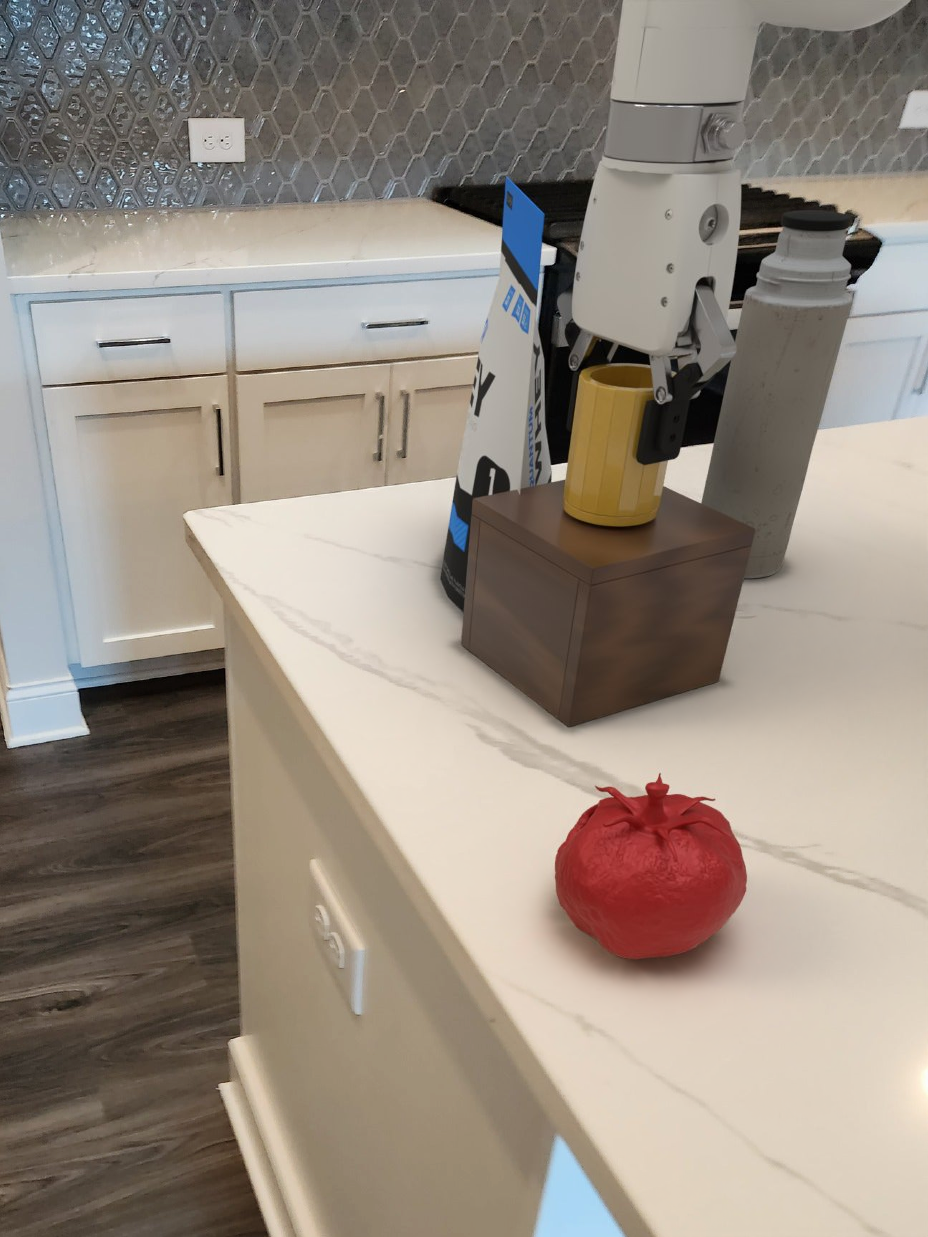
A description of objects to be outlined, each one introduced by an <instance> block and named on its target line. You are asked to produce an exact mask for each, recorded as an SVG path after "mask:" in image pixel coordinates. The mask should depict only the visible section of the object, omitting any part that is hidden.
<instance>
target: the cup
mask: <svg viewBox="0 0 928 1237" xmlns="http://www.w3.org/2000/svg"><path fill="white" fill-rule="evenodd" d="M671 372H672V377H673V376H674V375H675V374H676V373H677V372H676V371H673V370H671ZM650 400H655V398H654V391H653V382H652V374H651V366H650V365H649V364H643V363H631V362H629V363H628V362H626V363H625V362H623V363H622V362H620V363H619V362H617V363H616V362H615V363H609V364H603V365H597V366H591V367H589V368H586V369H584V370H582V371H581V373H580V376H579V382H578V390H577V397H576V405H575V412H574V420H573V427H572V432H571V435H570V444H569V450H568V457H567V458H568V459H567V465H566V473H565V479H564V480H565V487H564V494H563V497H564V499H563V508H564V510H565V511H566V513H568V514H569V515H570V516H572V517H574V518H576V519H579V520H581V521H584V522H588V523H592V524H597V525H604V526H634V525H640V524H644V523H647V522H649V521H651V520H653V519H654V518H655V517H656V516H657V514H658V511H659V505H660V500H661V495H662V490H663V486H665V485H664V483H665V479H666V474H667V469H668V462H669V460H668V461H663V462H658V463H653V464H648V465H643V464H640V463H638V462H637V459H636V455H637V449H638V443H639V437H640V431H641V425H642V419H643V414H644V408H645V405H646V401H650Z"/></svg>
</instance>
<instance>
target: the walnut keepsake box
mask: <svg viewBox="0 0 928 1237" xmlns="http://www.w3.org/2000/svg"><path fill="white" fill-rule="evenodd" d="M564 487H565V479H561V480H556V481H551V483H546V484H541V485H536V486H531V487H526V488H522V489H521V491H520V495H519V492H518V490H512V491H507V492H502V493H497V494H493V495H488V496H483V497H478V498H474V499H473V505H472V517H471V529H470V541H469V554H468V566H467V578H466V590H465V602H464V613H463V615H462V628H461V639H460V645H461V646H463V647H464V648H465V649H466V650H468V651H469V652H471V653H472V654H473V655H474V656H476V658H478V660H480V661H481V662H483V663H484V664H485V665H487V666H488V667H490V668H491V670H493V671H495V672H496V673H497V674H499V675H500V676H501V677H503V678H504V679H505V680H507V682H509V683H511V684H512V685H513V686H515V687H516V688H517V689H518V690H520V691H521V692H523V694H525V695H526V696H527V697H528V698H530V699H531V700H533V701H534V702H535V703H536V704H538V705H539V706H541V707H542V708H543V709H545V710H546V711H547V712H548V713H549V714H551V715H553V717H555V718H556V719H558V721H560V722H562V723H563V724H564V725H565V726H567V727H573V726H576V725H580V724H584V723H586V722H589V721H592V720H593V721H594V720H596V719H599V718H602V717H606V716H609V715H612V714H616V713H619V712H622V711H626V710H629V709H632V708H635V707H638V706H642V705H645V704H650V703H651V702H655V701H659V700H662V699H665V698H669V697H671V696H674V695H679V694H681V693H685V692H688V691H691V690H694V689H698V688H701V687H704V686H708V685H712V684H715V683H717V682H719V681H720V677H721V673H722V669H723V665H724V661H725V658H726V653H727V649H728V645H729V641H730V637H731V633H732V630H733V624H734V621H735V617H736V612H737V609H738V605H739V601H740V597H741V592H742V588H743V584H744V580H745V578H744V576H745V572H746V568H747V564H748V560H749V556H750V552H751V548H752V543H753V539H754V535H755V531H756V529H755V528H753V527H750V526H748V525H746V524H744V523H742V522H740V521H738V520H735V519H733V518H731V517H729V516H727V515H725V514H722V513H720V512H718V511H716V510H714V509H712V508H710V507H707V506H705V505H703V504H701V502H698V501H697V500H694V499H692V498H690V497H688V496H686V495H684V494H682V493H679V492H677V491H675V490H673V489H671V488H669V487H666V486H665V485H663V490H662V495H661V500H660V505H659V511H658V514H657V516H656V517H655V518H654V519H653V520H651V521H649V522H647V523H644V524H640V525H634V526H604V525H597V524H592V523H588V522H584V521H581V520H579V519H576V518H574V517H572V516H570V515H569V514H568V513H566V511H565V510H564V508H563V499H564V497H563V494H564Z"/></svg>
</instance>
